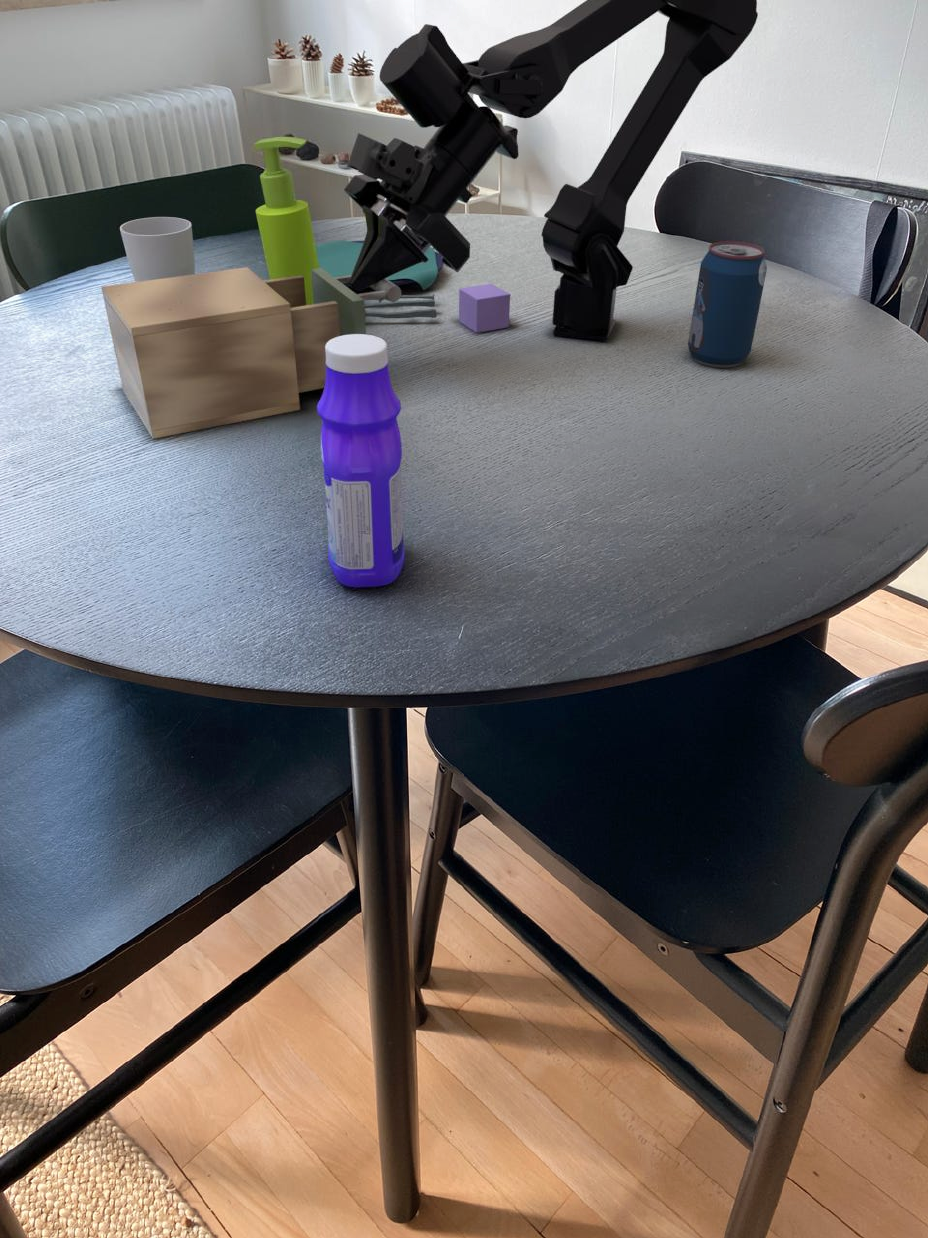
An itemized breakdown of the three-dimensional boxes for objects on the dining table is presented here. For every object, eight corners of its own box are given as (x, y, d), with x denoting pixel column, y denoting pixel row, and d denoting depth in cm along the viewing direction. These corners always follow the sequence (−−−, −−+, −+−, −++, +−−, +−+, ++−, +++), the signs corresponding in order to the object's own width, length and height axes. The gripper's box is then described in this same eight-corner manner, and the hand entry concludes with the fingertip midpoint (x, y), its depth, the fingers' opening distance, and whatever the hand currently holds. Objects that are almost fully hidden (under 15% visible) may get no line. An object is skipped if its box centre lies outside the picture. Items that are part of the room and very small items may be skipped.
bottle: (331, 543, 75) (313, 324, 64) (403, 540, 75) (397, 323, 65) (328, 596, 69) (308, 365, 58) (406, 593, 69) (400, 364, 59)
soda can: (759, 358, 107) (782, 248, 100) (728, 375, 103) (749, 261, 96) (706, 342, 111) (725, 235, 104) (674, 358, 107) (690, 247, 100)
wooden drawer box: (259, 366, 103) (247, 266, 97) (300, 409, 95) (290, 303, 88) (122, 390, 98) (100, 286, 91) (152, 439, 89) (130, 327, 83)
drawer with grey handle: (368, 341, 107) (364, 260, 102) (412, 376, 99) (410, 291, 94) (207, 369, 100) (194, 283, 95) (241, 410, 92) (228, 319, 87)
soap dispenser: (327, 330, 111) (294, 143, 99) (272, 331, 112) (232, 147, 100) (342, 311, 115) (312, 130, 103) (289, 312, 117) (252, 134, 104)
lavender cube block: (490, 315, 117) (491, 283, 115) (509, 327, 114) (510, 293, 112) (458, 321, 116) (458, 288, 113) (476, 333, 113) (477, 299, 110)
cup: (216, 304, 119) (204, 220, 113) (180, 325, 113) (166, 238, 107) (160, 296, 121) (146, 214, 115) (122, 316, 115) (105, 230, 109)
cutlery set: (441, 253, 138) (441, 236, 137) (452, 325, 115) (453, 306, 113) (304, 253, 137) (302, 237, 136) (286, 326, 113) (285, 307, 112)
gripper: (358, 86, 96) (264, 212, 98) (443, 116, 83) (332, 261, 85) (428, 165, 104) (339, 281, 106) (515, 204, 90) (412, 334, 93)
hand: (353, 287), depth 97 cm, fingers closed, pressing on drawer with grey handle
